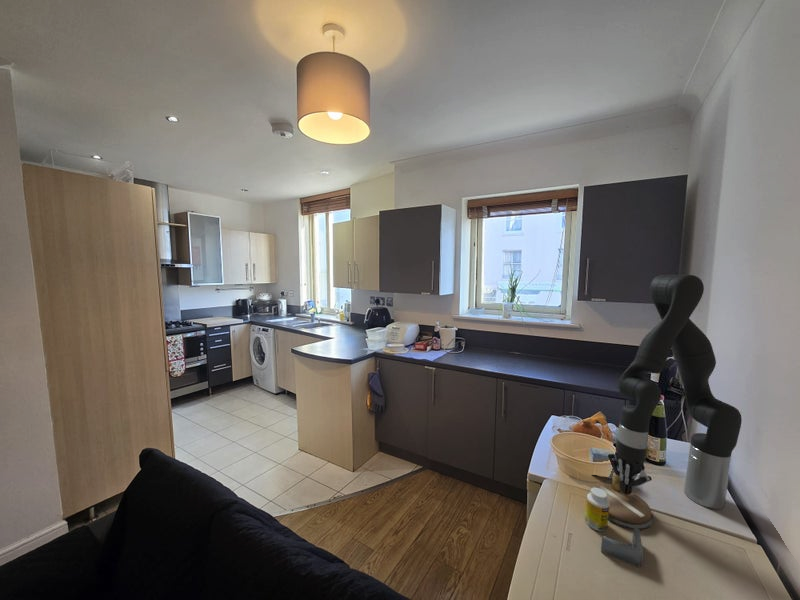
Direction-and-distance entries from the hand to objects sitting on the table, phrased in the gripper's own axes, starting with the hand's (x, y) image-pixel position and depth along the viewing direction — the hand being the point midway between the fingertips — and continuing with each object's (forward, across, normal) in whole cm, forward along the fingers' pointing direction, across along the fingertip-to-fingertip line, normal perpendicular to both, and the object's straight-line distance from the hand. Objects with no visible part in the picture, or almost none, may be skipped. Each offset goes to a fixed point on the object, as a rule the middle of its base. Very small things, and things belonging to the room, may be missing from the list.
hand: (625, 492), depth 98 cm
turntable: (+3, -1, +2) cm, 4 cm away
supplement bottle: (+5, -4, +14) cm, 16 cm away
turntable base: (+4, -1, +2) cm, 5 cm away
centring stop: (+5, -15, +14) cm, 21 cm away
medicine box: (+4, +13, -6) cm, 15 cm away
